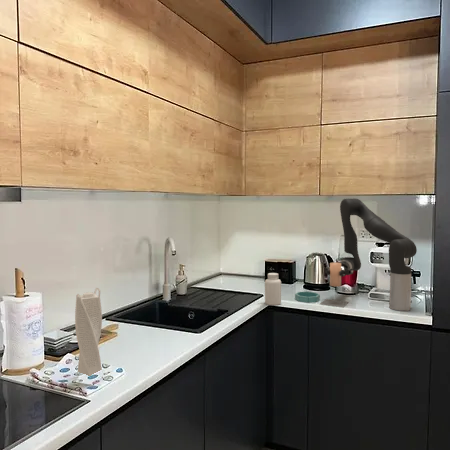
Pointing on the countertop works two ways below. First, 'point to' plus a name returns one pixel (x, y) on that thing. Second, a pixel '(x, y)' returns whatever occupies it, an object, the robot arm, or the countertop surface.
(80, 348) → the skyscraper
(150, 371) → the countertop surface
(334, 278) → the canister
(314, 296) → the bowl
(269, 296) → the pill bottle
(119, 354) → the countertop surface
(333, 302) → the mat
